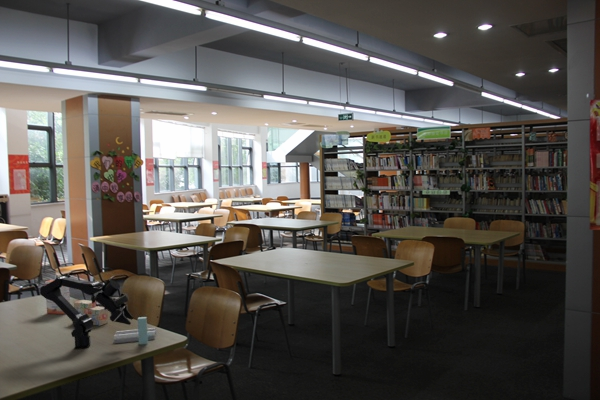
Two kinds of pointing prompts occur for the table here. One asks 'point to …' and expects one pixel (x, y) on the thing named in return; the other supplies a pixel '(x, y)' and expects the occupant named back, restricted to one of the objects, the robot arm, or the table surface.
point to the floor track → (132, 335)
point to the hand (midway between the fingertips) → (131, 321)
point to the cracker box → (51, 305)
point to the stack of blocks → (92, 311)
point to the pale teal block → (142, 330)
